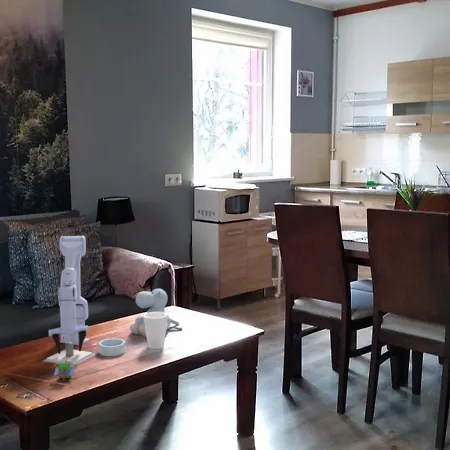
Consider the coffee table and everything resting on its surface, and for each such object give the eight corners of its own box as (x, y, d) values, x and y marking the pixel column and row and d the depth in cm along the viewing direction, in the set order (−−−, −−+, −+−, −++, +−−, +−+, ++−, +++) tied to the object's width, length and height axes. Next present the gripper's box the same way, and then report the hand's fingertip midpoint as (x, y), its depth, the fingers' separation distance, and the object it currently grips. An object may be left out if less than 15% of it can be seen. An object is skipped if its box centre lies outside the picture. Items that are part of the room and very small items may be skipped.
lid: (46, 360, 227) (46, 345, 226) (67, 350, 238) (66, 336, 237) (72, 364, 222) (72, 349, 221) (92, 354, 233) (91, 340, 232)
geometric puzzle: (72, 379, 203) (73, 356, 207) (51, 380, 203) (53, 357, 207) (75, 385, 210) (77, 362, 214) (55, 386, 209) (57, 363, 213)
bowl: (94, 354, 234) (93, 344, 233) (109, 346, 243) (108, 337, 242) (115, 358, 230) (115, 348, 229) (130, 350, 239) (130, 340, 238)
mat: (42, 361, 226) (42, 360, 226) (66, 350, 239) (66, 349, 239) (73, 367, 221) (73, 366, 221) (96, 355, 233) (96, 354, 233)
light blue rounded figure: (128, 327, 269) (127, 287, 266) (179, 324, 274) (178, 284, 272) (131, 340, 251) (130, 297, 249) (186, 336, 256) (185, 293, 254)
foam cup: (163, 351, 238) (162, 319, 236) (141, 349, 240) (140, 317, 238) (170, 343, 247) (169, 312, 245) (148, 341, 249) (148, 311, 247)
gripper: (49, 322, 221) (50, 357, 223) (89, 317, 227) (90, 352, 228) (47, 316, 228) (49, 351, 230) (86, 312, 233) (87, 346, 235)
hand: (69, 351), depth 230 cm, fingers open, 7 cm apart
